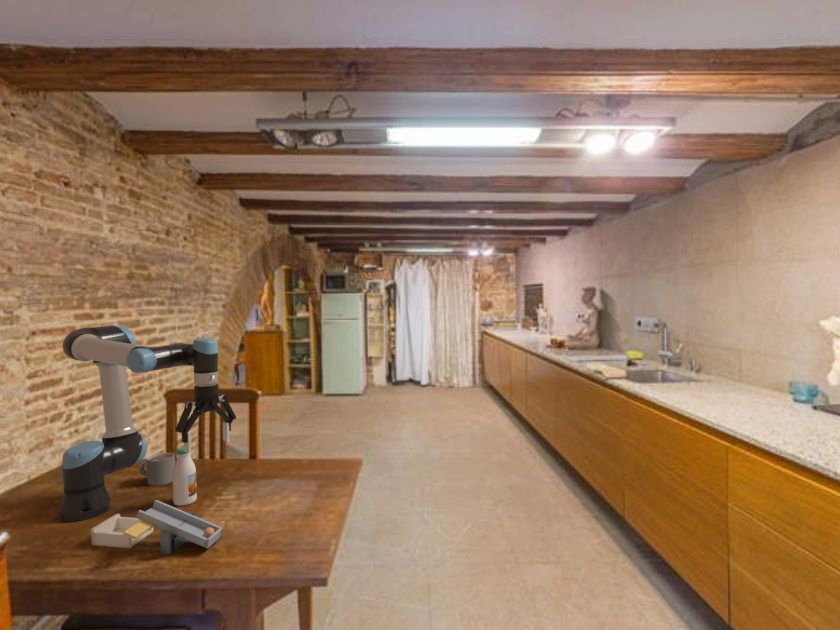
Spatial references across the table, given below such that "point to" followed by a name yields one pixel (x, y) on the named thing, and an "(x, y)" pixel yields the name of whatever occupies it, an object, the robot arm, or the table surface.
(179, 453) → the milk bottle
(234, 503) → the table surface
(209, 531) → the ball
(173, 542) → the fulcrum
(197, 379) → the robot arm
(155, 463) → the coffee mug
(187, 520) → the lever
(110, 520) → the tray
